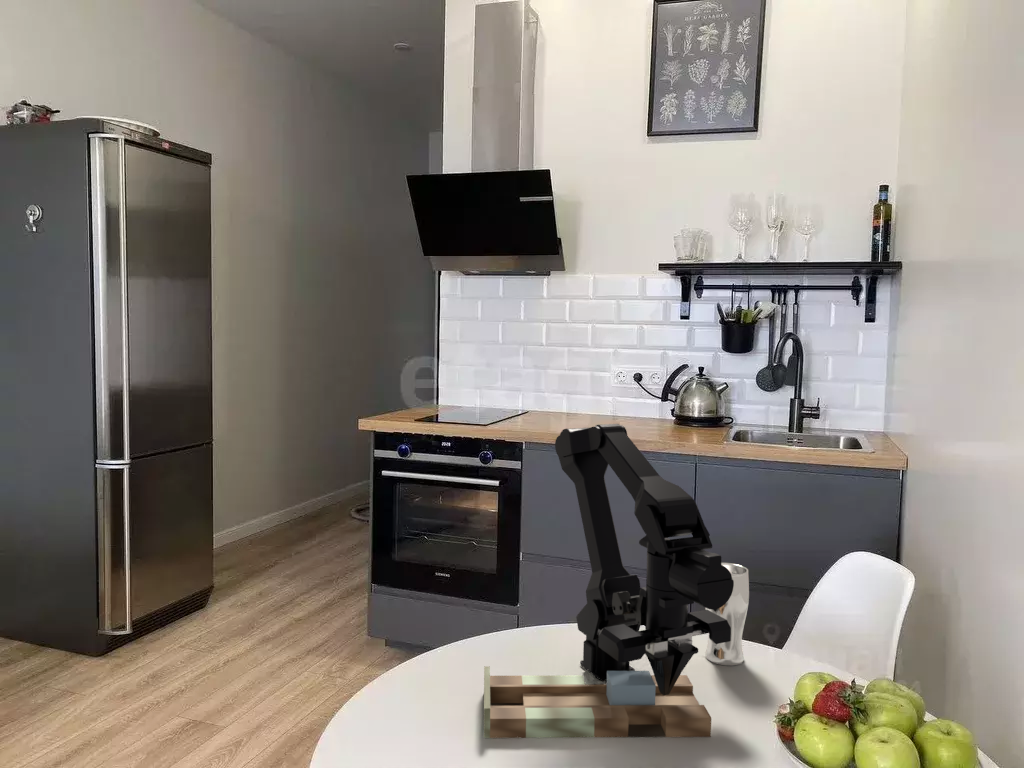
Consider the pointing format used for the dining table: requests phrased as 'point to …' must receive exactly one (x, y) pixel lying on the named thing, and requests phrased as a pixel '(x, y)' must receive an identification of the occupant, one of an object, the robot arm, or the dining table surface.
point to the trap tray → (585, 710)
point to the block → (630, 688)
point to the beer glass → (732, 619)
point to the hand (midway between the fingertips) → (664, 693)
